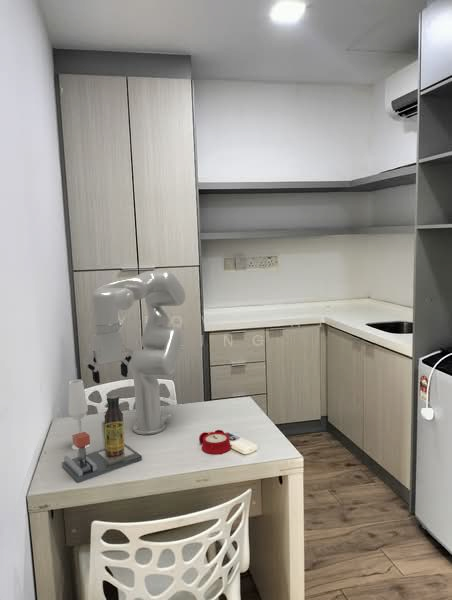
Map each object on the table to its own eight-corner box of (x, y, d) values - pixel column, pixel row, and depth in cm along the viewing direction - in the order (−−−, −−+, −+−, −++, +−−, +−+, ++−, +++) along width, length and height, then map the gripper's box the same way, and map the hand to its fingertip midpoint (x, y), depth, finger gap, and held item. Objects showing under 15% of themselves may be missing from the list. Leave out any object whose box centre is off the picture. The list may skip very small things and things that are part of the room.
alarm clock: (207, 448, 156) (195, 423, 170) (206, 463, 158) (194, 437, 172) (236, 442, 160) (222, 418, 173) (235, 458, 162) (221, 433, 175)
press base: (123, 446, 168) (121, 415, 167) (142, 460, 157) (139, 427, 156) (62, 466, 155) (59, 433, 153) (78, 482, 144) (75, 447, 142)
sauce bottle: (106, 458, 155) (101, 400, 153) (105, 450, 161) (101, 394, 159) (126, 455, 157) (121, 397, 154) (125, 447, 163) (120, 392, 160)
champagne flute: (89, 440, 175) (84, 377, 172) (91, 447, 169) (86, 382, 166) (70, 443, 173) (65, 380, 170) (72, 450, 167) (66, 385, 164)
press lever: (86, 464, 152) (84, 431, 151) (92, 469, 148) (90, 435, 147) (74, 468, 150) (71, 434, 148) (80, 473, 146) (77, 439, 144)
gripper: (126, 323, 162) (129, 371, 164) (77, 331, 151) (81, 382, 154) (136, 326, 156) (139, 376, 158) (85, 334, 145) (90, 387, 148)
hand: (110, 379), depth 156 cm, fingers open, 9 cm apart
